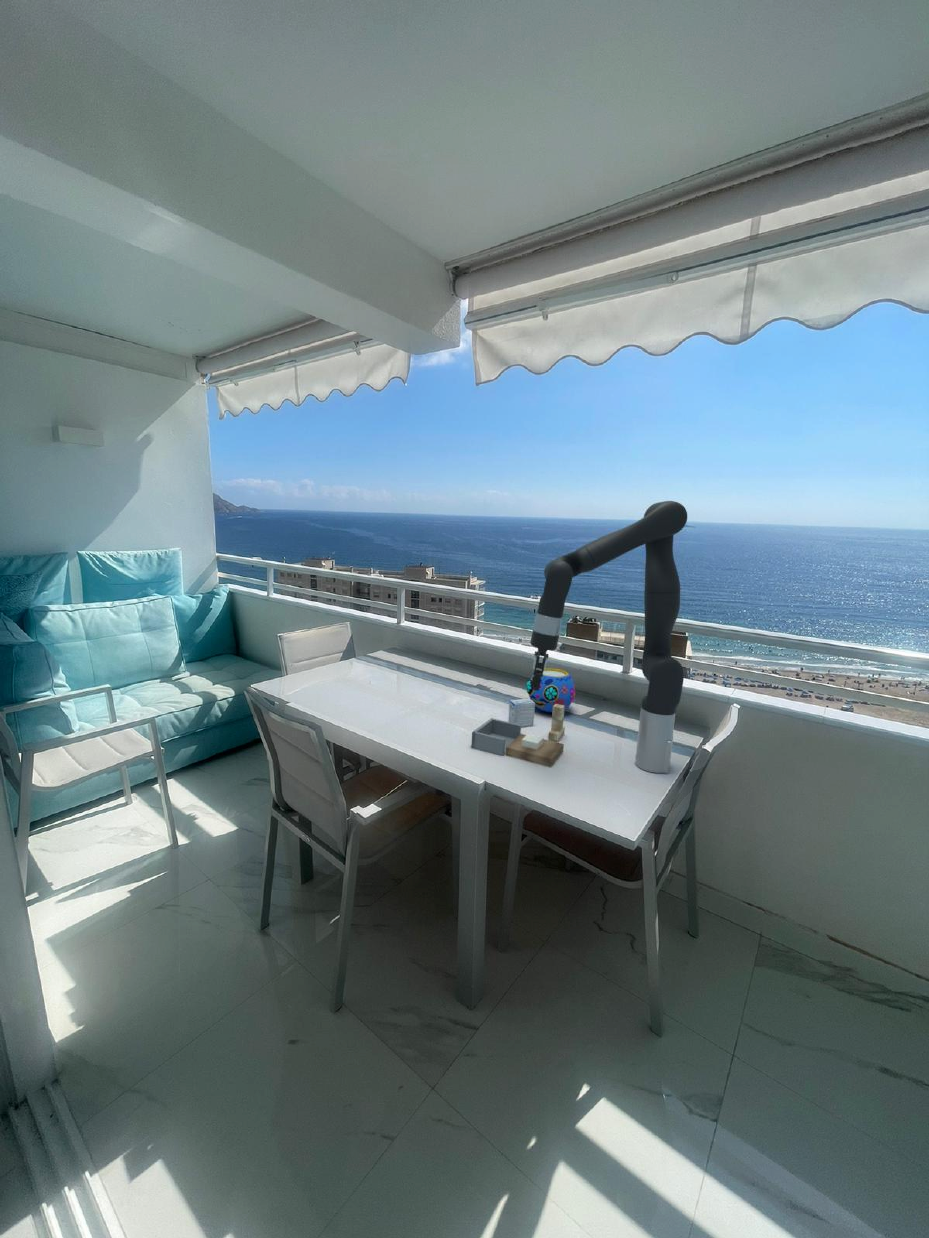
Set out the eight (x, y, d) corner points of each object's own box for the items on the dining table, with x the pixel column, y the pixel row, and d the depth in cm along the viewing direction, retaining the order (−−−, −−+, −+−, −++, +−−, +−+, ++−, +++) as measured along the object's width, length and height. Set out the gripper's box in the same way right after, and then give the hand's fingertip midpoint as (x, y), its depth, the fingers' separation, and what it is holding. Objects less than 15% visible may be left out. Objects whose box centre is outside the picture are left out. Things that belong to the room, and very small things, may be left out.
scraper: (564, 734, 161) (566, 703, 159) (557, 743, 154) (559, 710, 152) (555, 732, 162) (557, 701, 160) (547, 741, 155) (550, 708, 153)
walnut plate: (563, 751, 148) (563, 743, 147) (551, 767, 137) (551, 758, 137) (520, 741, 154) (520, 733, 154) (505, 755, 143) (506, 747, 143)
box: (520, 739, 155) (521, 724, 154) (502, 755, 143) (503, 740, 142) (490, 732, 160) (491, 718, 159) (471, 747, 148) (472, 732, 147)
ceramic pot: (517, 709, 183) (519, 670, 180) (544, 699, 196) (547, 663, 193) (555, 722, 171) (559, 681, 168) (582, 711, 183) (585, 673, 181)
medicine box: (527, 721, 171) (529, 698, 170) (533, 726, 167) (535, 702, 166) (507, 723, 168) (509, 699, 167) (513, 728, 164) (515, 704, 163)
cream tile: (542, 743, 147) (543, 737, 146) (537, 749, 142) (537, 743, 142) (527, 740, 149) (527, 733, 149) (521, 745, 144) (521, 739, 144)
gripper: (560, 638, 128) (548, 695, 130) (559, 629, 141) (548, 681, 144) (532, 632, 129) (520, 689, 131) (534, 624, 143) (523, 676, 145)
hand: (535, 685), depth 138 cm, fingers open, 8 cm apart
